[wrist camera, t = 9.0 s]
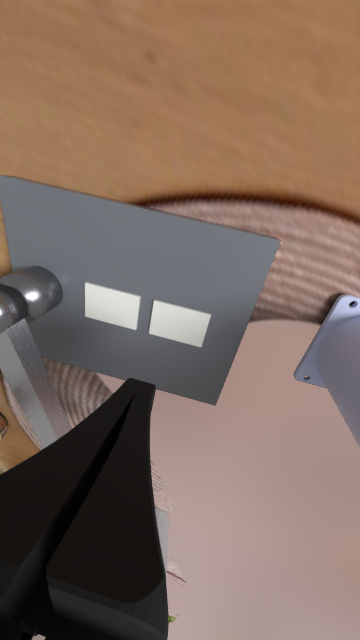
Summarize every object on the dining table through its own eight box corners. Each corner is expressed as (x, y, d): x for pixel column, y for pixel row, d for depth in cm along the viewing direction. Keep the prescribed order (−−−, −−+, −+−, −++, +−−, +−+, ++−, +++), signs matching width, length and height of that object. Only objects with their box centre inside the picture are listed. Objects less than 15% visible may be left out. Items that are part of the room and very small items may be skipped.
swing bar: (87, 454, 23) (75, 477, 21) (62, 451, 23) (48, 473, 21) (18, 283, 15) (-13, 296, 13) (-18, 284, 15) (-52, 296, 14)
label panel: (276, 237, 15) (281, 241, 14) (215, 393, 23) (215, 407, 21) (14, 176, 17) (-7, 173, 15) (36, 344, 24) (24, 353, 22)
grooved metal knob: (72, 267, 19) (33, 284, 15) (74, 305, 21) (39, 330, 17) (32, 256, 19) (-17, 271, 15) (37, 295, 21) (-7, 317, 17)
